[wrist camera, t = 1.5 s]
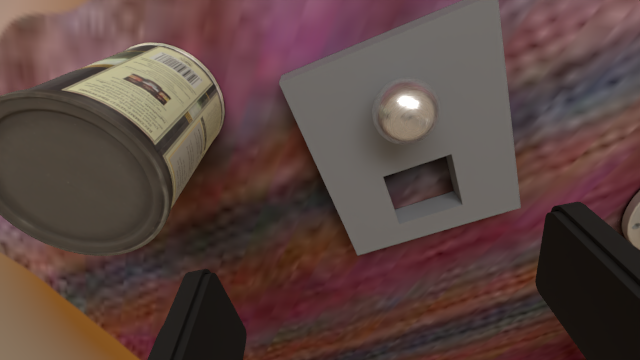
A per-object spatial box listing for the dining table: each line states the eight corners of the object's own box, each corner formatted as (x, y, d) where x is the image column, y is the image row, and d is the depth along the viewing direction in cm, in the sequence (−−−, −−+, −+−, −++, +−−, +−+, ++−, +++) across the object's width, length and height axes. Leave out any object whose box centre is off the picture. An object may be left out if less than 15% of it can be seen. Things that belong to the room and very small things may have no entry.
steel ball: (421, 60, 26) (442, 76, 22) (434, 117, 29) (455, 142, 24) (360, 84, 27) (368, 104, 23) (377, 137, 29) (388, 165, 25)
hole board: (482, -8, 26) (497, -7, 24) (508, 193, 36) (520, 207, 33) (281, 75, 29) (278, 83, 27) (355, 240, 39) (357, 255, 37)
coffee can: (113, 143, 32) (-10, 242, 20) (101, 28, 27) (-72, 69, 15) (221, 163, 33) (168, 269, 21) (231, 58, 28) (167, 118, 16)
